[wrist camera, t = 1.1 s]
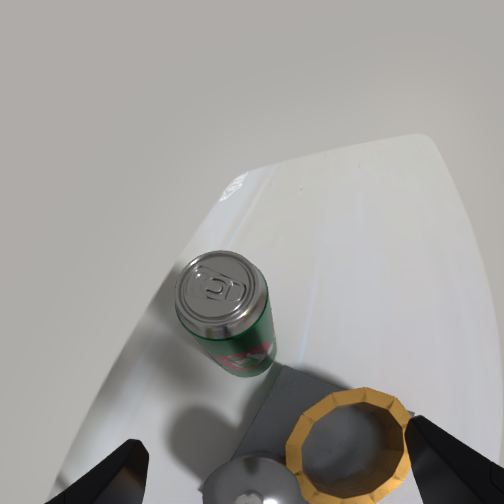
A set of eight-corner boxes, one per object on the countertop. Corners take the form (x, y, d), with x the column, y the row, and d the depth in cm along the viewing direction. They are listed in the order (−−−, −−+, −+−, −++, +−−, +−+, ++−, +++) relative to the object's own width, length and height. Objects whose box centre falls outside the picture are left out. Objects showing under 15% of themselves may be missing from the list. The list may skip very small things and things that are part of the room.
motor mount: (338, 546, 12) (355, 583, 6) (207, 497, 16) (174, 520, 10) (410, 413, 18) (453, 403, 12) (284, 367, 23) (282, 342, 17)
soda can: (231, 317, 26) (193, 236, 16) (284, 332, 24) (279, 255, 15) (210, 367, 23) (151, 314, 14) (265, 386, 22) (245, 348, 12)
